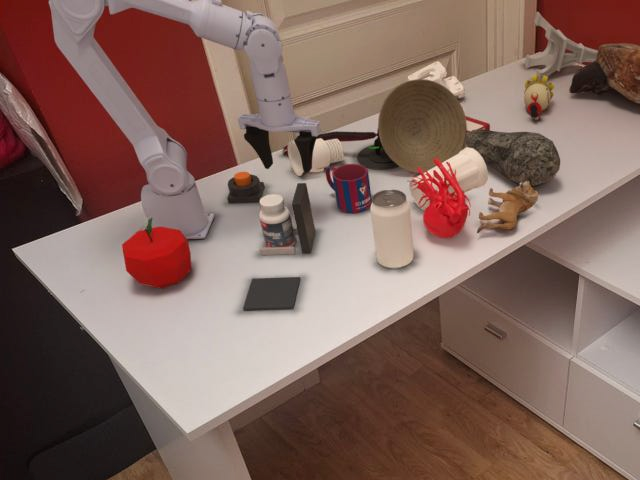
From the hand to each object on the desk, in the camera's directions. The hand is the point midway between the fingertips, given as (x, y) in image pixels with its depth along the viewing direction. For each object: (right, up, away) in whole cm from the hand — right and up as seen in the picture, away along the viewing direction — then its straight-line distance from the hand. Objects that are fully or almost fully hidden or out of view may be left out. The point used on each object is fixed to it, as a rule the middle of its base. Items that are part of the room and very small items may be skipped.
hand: (288, 168), depth 128 cm
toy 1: (+4, +9, +20) cm, 22 cm away
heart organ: (+27, -12, 0) cm, 30 cm away
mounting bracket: (+29, +35, +43) cm, 63 cm away
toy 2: (+47, +21, +30) cm, 60 cm away
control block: (-11, -2, +10) cm, 15 cm away
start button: (-11, -1, +9) cm, 14 cm away
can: (+20, -18, -6) cm, 27 cm away
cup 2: (+23, -4, +4) cm, 24 cm away
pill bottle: (-1, -14, -2) cm, 14 cm away
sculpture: (+63, +33, +47) cm, 85 cm away
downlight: (-3, +6, +14) cm, 15 cm away
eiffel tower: (+49, +45, +50) cm, 83 cm away
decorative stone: (+44, +9, +15) cm, 48 cm away
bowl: (+21, +13, +21) cm, 33 cm away
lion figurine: (+36, -6, +2) cm, 36 cm away
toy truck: (+31, +16, +26) cm, 44 cm away
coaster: (+1, -24, -13) cm, 28 cm away
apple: (-18, -21, -9) cm, 29 cm away
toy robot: (+15, +8, +22) cm, 28 cm away
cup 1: (+9, -4, +9) cm, 14 cm away
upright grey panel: (+1, -14, -2) cm, 14 cm away
